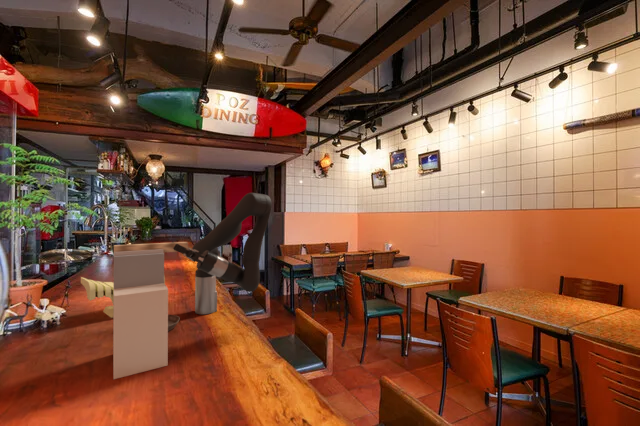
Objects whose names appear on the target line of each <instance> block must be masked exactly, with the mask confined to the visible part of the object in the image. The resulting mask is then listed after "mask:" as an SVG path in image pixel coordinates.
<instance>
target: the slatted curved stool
mask: <svg viewBox="0 0 640 426" xmlns="http://www.w3.org/2000/svg"><path fill="white" fill-rule="evenodd" d="M165 282H166V277H165V275H164V284H165V285H166V283H165ZM80 284H81V285H82V286H83V287H84V289H85V290H86V291H85V292H86V298H87V300H88V301H92V300H93V301H94V300H95V299H96V298H98V299H99V298H104V297H105V298H109V299H110V300H111V302H112V305H110V306H105V308H103V311H102V312H103V313H104V314H106V315H107V316H108V317H109V318H110V319H113V309H114V281H101V280H100V281H99V280H93V279H90V278H89V279H88V278H86V277H82V276H80Z"/></svg>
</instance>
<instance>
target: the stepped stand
mask: <svg viewBox="0 0 640 426" xmlns="http://www.w3.org/2000/svg"><path fill="white" fill-rule="evenodd" d="M164 276H165V252H163V249H157V250H140V251H122V252H114V251H113V283H114V309H113V318H112V319H113V320H112V321H113V323H112V324H113V331H112V332H113V336H112V337H113V338H112V339H113V340H112V341H113V342H112V345H113V346H112V348H113V350H112V351H113V352H112V354H113V356H112V357H113V360H112V361H113V365H112V368H113V380H116V379H117V380H118V379H120V378H123V377H124V378H125V377H129V376H132V375H136V374H140V373H143V372H144V373H145V372H147V371H151V370H155V369H160V368H163V367H166V366H169V365H168V364H169V363H168V361H169V360H168V359H169V358H168V357H169V356H168V355H169V354H168V353H169V351H168V350H169V349H168V348H169V347H168V346H169V342H168V341H169V331H168V315H169V288H168V286H167V285H166V283H165V284H164Z"/></svg>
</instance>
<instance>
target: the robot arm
mask: <svg viewBox="0 0 640 426" xmlns="http://www.w3.org/2000/svg"><path fill="white" fill-rule="evenodd" d="M272 206H273V203H272V199H271V197H270V196H269V195H267V194H263V193H257V192H248V193H246V194H245V195H244V196H243V197H242V198H241V199H240V200H239V202H238V203H237V204H236V205H235V207H234V208H233V209H232V211H230V212H229V213H228V215H227V216H226V217H224V218H223V219H222V220H221V221H220V222H219V223H217V225H216V226H215V227H214V228H213V229H212V230H211V231H210V232H209V233H207V234H206V236H204V237H202V239H200V240H199V241H197V242H196V243H195V244H194V245H193V246H192V248H191V247H189V246H188V248H187V250H186V248H185V247H183V246H181V245H179V244H176V245H175V246H174V248H173V249H174V250H176V251H178V253H180V254H182V255H183V256H184V257H186V259H189V260H190V261H192V262H195V263H196V269H195V276H194V277H195V279H194V281H195V283H194V285H195V287H194V289H195V290H194V291H195V292H194V293H195V295H194V296H195V297H194V298H195V299H194V300H195V301H194V312H195V314H198V315H210V314H212V313H215V312H218V291H217V278H219V279H222V280H224V281H225V282H229V283H234V284H236V285H238V286H240V287H241V288H242V289H243V290H244V291H246V292H249V293H253V292H254V291H256V290H257V289H258V287H259V285H260V281H261V280H260V279H261V274H260V273H261V271H260V270H261V269H260V260H261V253H262V246H263V240H264V236H265V233H266V230H267V227H268V223H269V219H270V216H271V211H272ZM249 217H256V221H255V224H254V226H253V228H252V230H251V232H250V233H249V235H248V237H247V238H246V240H245V241H244V242H245V243H244V246H243V250H242V259H241V263H242V266H243V267H240V266H238V265H236V264H234V263H233V262H231V261H229V260H227V259H226V258H224V257H223V256H220V255H219V248H220V247H221V246H224V245H227V244H228V243H230V242H232V241H233V240H234V239H235V238H236V237H237V236H238V235H239V234H240V233H241V231H242V224H243V221H245V220H247V218H249ZM172 242H173V241H171V242H170V243H172Z"/></svg>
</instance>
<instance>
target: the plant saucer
mask: <svg viewBox="0 0 640 426" xmlns="http://www.w3.org/2000/svg"><path fill="white" fill-rule="evenodd" d="M180 318H181V317H180V316H178V315H176V314H168V332H169V331H171V330H173V329H174V328H175V327H176V326H177V325H178V323H179V321H180V320H181V319H180Z"/></svg>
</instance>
